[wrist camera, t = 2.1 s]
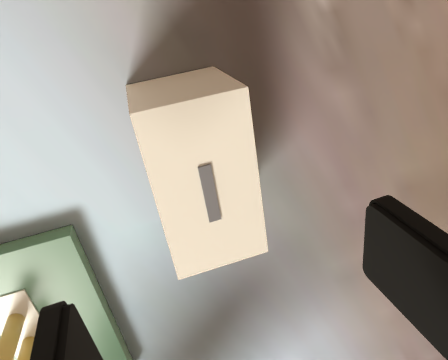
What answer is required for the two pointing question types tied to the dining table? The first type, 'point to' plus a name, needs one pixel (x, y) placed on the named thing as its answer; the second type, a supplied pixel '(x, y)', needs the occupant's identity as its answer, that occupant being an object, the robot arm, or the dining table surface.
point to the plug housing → (201, 166)
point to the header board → (51, 293)
